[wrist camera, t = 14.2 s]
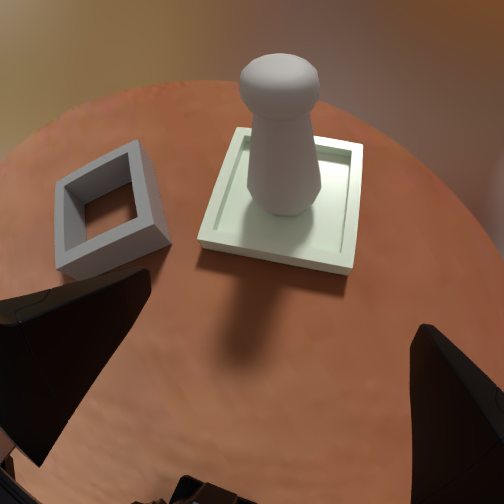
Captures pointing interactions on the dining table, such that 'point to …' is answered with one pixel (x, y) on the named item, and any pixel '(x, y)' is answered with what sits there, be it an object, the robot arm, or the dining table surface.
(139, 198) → the holder
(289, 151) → the salt shaker
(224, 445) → the dining table surface
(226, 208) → the tray
